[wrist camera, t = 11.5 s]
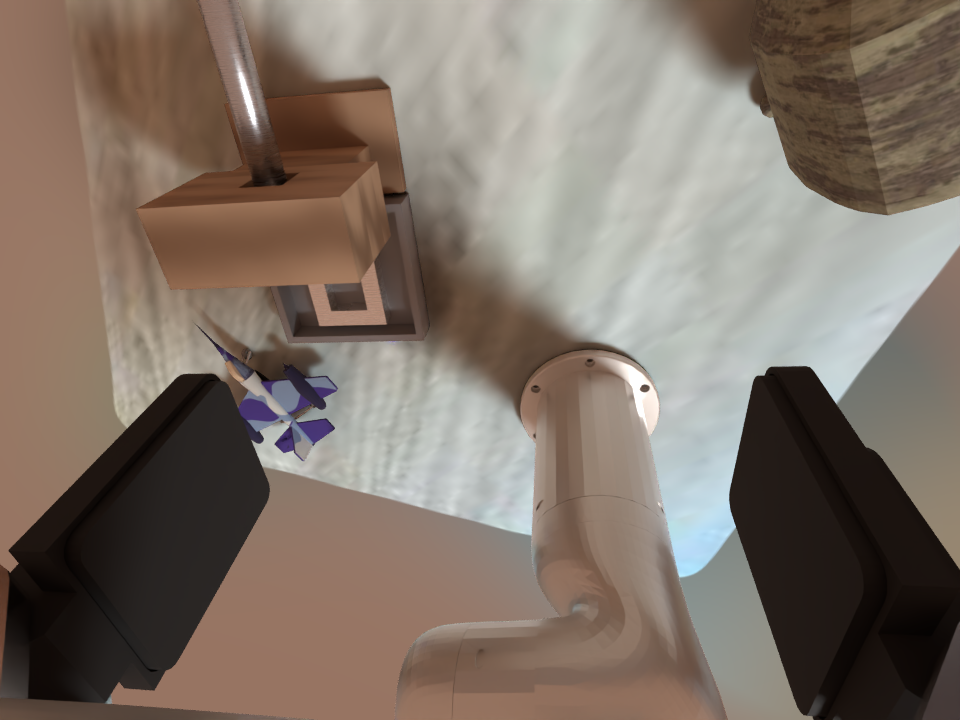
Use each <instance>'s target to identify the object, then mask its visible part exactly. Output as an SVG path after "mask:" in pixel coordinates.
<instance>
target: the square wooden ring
mask: <svg viewBox="0 0 960 720" xmlns="http://www.w3.org/2000/svg"><path fill="white" fill-rule="evenodd" d="M361 283H362V288H363V292H364V296H365V301H366V303H340V304H337V303H336V299H335V295H334V291H333V288H332V284H312V285H308V287H309V290H310V294H311V297H312V301H313V304H314V308H315V312H316V315H317V319H318V322H319V326H343V325H386V324H387V323H388V321H389V319H390V317H391V315H390V310H389V305H388V300H387V295H386V290H385V285H384V280H383V275H382V270H381V265H380V260H379V255H378V256H377V257H376V259H375V260H374V262H373V263H372V265H371V266H370V268H369V269H368V271H367V272H366V274H365V275H364V277H363V278H362V280H361Z"/></svg>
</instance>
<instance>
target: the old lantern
mask: <svg viewBox="0 0 960 720" xmlns="http://www.w3.org/2000/svg"><path fill="white" fill-rule="evenodd" d="M749 39H750V42H751V45H752V49H753V52H754V55H755V58H756V62H757V65H758V68H759V72H760V75H761V78H762V81H763V85H764V88H765V91H766V94H767V95H766V96H765V97H763V98H762V101H761V105H760V109H761V111H762V114H763V115H765V116H767V117H769V118H771V117H774V120H775V124H776V127H777V130H778V133H779V137H780V140H781V143H782V147H783V150H784V153H785V156H786V160H787V163H788V165H789V168H790V169H791V170H792V171H793V173H794V174H795V175H796V176H797V177H798V178H799V179H800V180H801V182H802V183H803V184H804V185H805V186H806V187H808V188H809V189H811V190H813V191H815V192H817V193H818V194H820V195H822V196H824V197H826V198H827V199H829V200H831V201H833V202H835V203H837V204H839V205H842V206H845V207H847V208H851V209H854V210H857V211H860V212H868V213H875V214H883V215H891V214H895V213H900V212H904V211H908V210H912V209H916V208H920V207H924V206H928V205H931V204H934V203H938V202H941V201H944V200H947V199H950V198H954V197H957V196H959V195H960V0H757V4H756V9H755V13H754V18H753V22H752V26H751V31H750V35H749Z"/></svg>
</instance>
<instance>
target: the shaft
mask: <svg viewBox="0 0 960 720" xmlns="http://www.w3.org/2000/svg"><path fill="white" fill-rule="evenodd" d="M197 3H198V6H199V10H200V13H201V16H202V19H203V23H204V26H205V29H206V32H207V36H208V39H209V42H210V45H211V49H212V52H213V55H214V58H215V62H216V65H217V68H218V71H219V75H220V78H221V81H222V84H223V87H224V91H225V94H226V97H227V100H228V104H229V107H230V110H231V113H232V117H233V120H234V123H235V126H236V130H237V133H238V136H239V139H240V143H241V146H242V149H243V152H244V156H245V159H246V162H247V165H248V169H249V172H250V175H251V178H252V181H253V185H254V187H263V186H279V185H283V184H285V183H286V182H287V177H286V174H285V170H284V166H283V163H282V159H281V155H280V152H279V148H278V145H277V141H276V137H275V134H274V130H273V126H272V123H271V119H270V115H269V112H268V108H267V105H266V101H265V97H264V94H263V90H262V86H261V83H260V79H259V75H258V72H257V68H256V64H255V61H254V57H253V54H252V50H251V46H250V43H249V39H248V35H247V32H246V28H245V24H244V21H243V17H242V14H241V10H240V6H239V3H238V0H197Z"/></svg>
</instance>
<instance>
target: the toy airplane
mask: <svg viewBox="0 0 960 720" xmlns="http://www.w3.org/2000/svg"><path fill="white" fill-rule="evenodd" d="M198 328H199V327H198ZM199 329H200V328H199ZM200 330H201V329H200ZM201 331H202V330H201ZM202 332H203V333H204V334H205V335H206V336H207V337H208V338H209V340H210V341H211V342H212V343H213V344H214V345H215V347H216V348H217V350H218V351H219V352H220V353H221V355H222V356H223V358H224V359H225V361H226V363H225V365H226V367H227V369H228V370H229V372H230V374H231V375H232V376H233V377H234V378H235V379H236V380H238V381H239V383H240V384H242V385H243V386H244V387H245V388H247V389H248V390H249V391H248V392H247V394H246V396H245V398H244V399H243V401H242V403H241V404H240V406H239V408H238V410H239V412H240V414H241V417H242V419H243V422H244V424H245V427H246V429H247V431H248V434H249V436H250V439H251V440H253V441H254V442H256V443H258V444H260V443H262V442H263V440H264V438H263V436H262V435H261V433H260V430H262V429H264V428H266V427H268V426H270V425H272V424H274V423H276V422H278V421H280V420H281V423H286V424H287V425H288V426H289V428H288V429H287V430H286V431H285V432H284V434H283V435H282V436H281V437H280V438H279V439H278V440H277V441H276V443H275V445H276V446H277V447H278V448H279V449H280V450H281V451H282V452H283V453H286V452H289V451H293V450H294V453H295V454H296V455H297V456H298V457H299V458H300V459H301V460H302V461H305V459H306V457H307V455H308V454H309V452H310V450H311V448H312V446H314V445H315V443H316V442H317V441H319V440H320V439H322V438H323V437H324V436H326V435H327V434H329V433H330V432H331V431H333V430H334V429H335V427H334V426H333V425H332V424H331V423H330V422H329V421H328V420H327V419H319V420H312V421H305V422H297V421H296V419H297V418H299V417H300V416H302V415H303V414H304V413H306V412H307V411H308V410H310V409H311V408H312V407H313V408H315V407H317V408H318V409H320V410H322V409H325V407H326V403H325V401H324V399H323V398H324V397H326V396H328V395H330V394H332V393H334V392H336V391H337V389H338V388H337V386H336V385H335V384H334V383H333V382H332V381H331V380H330V379H329V378H328V377H327V376H318V377H306V376H305V375H303V374H302V373H301V372H300V371H299V370H297V369H296V368H295V367H294V366H293V365H289V366H288V365H286V364H284V363H283V365H284V368H285V369H284V371H283V372H284V373H285V375H286V376H287V377H288V379H281V380H269V379H268V378H266V377H265V376H264V375H262V374H261V373H259V372H258V371H257V370H255V371H254V370H253V369H251V368H250V367H248V366H247V362H248V360H249V359H251V358H252V353H251V351H250V350H248V349H244V350H243V351H242V356H243V357H242V360H241V361H240V360H238V359H237V358H235V357H234V356H232V355H231V354H230V353H228V352H227V351H225V350H224V349H223V348H222V347H220V346H219V345H218V344H216V343H215V342H214V341H213V340H212V339H211V338H210V337H209V336H208V335H207V334H206V333H205V332H204V331H202ZM244 358H245V359H247V360H246V363H245V364H244V363H243V360H244ZM308 405H310V406H311V407H310V408H308V409H307V410H305V411H304V412H303V413H301V414H300V415H299V416H297V417H296V418H293V416H292V415H291V414H292V413H294V412H296V411H298V410H300V409H302V408H304V407H306V406H308Z"/></svg>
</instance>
